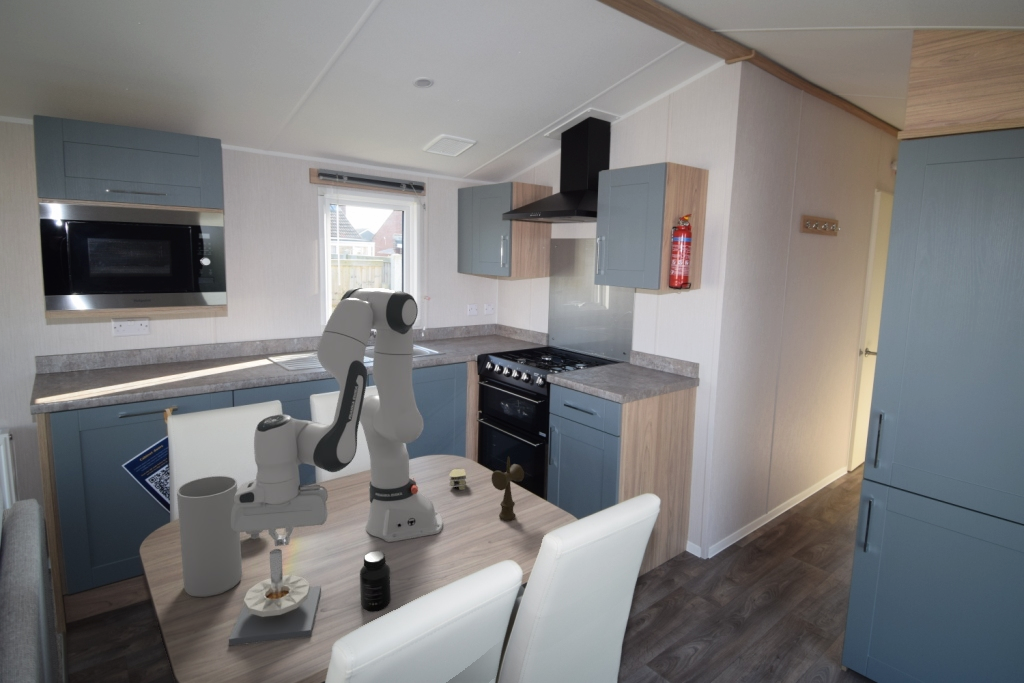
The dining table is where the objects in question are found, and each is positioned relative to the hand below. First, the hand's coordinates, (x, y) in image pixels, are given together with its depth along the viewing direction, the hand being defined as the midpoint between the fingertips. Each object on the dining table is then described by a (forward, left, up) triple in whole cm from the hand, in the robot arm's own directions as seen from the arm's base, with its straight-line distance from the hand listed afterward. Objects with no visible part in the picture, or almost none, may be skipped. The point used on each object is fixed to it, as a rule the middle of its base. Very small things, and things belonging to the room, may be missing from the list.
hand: (282, 544), depth 126 cm
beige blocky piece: (-46, -58, -15) cm, 76 cm away
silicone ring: (0, +6, -9) cm, 11 cm away
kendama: (-59, -32, -14) cm, 69 cm away
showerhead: (+14, -32, -14) cm, 38 cm away
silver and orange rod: (0, +6, -13) cm, 14 cm away
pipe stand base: (0, +6, -14) cm, 15 cm away
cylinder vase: (+18, -10, -14) cm, 25 cm away
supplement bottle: (-21, +5, -14) cm, 26 cm away
